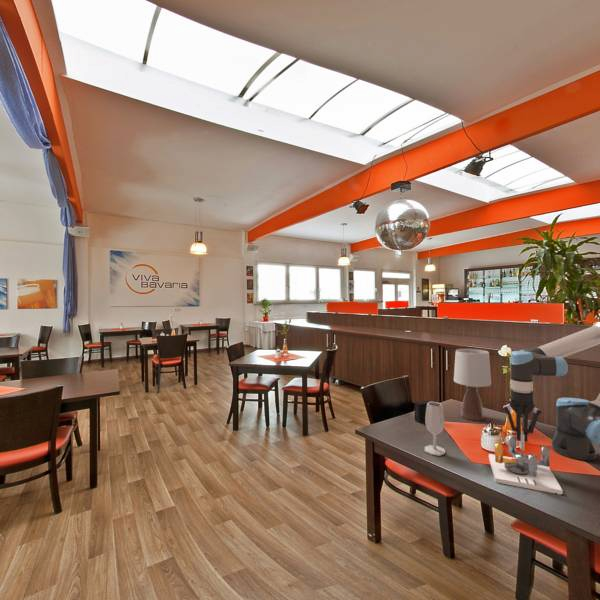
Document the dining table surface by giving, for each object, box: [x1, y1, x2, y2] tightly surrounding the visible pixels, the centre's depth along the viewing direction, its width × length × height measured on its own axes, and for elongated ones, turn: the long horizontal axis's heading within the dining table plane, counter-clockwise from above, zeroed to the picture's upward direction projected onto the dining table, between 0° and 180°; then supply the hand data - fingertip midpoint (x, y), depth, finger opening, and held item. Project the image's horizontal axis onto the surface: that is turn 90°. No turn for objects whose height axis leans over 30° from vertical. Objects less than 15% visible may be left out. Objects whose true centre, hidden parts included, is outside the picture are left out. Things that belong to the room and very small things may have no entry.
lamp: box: [453, 348, 492, 422], centre depth 185 cm, size 19×19×37 cm
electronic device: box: [414, 400, 432, 424], centre depth 181 cm, size 4×10×10 cm, turn 107°
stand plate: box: [488, 453, 564, 495], centre depth 127 cm, size 20×20×2 cm
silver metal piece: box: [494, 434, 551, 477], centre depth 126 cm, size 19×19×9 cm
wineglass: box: [424, 401, 446, 457], centre depth 145 cm, size 9×9×21 cm
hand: (521, 448), depth 133 cm, fingers closed
